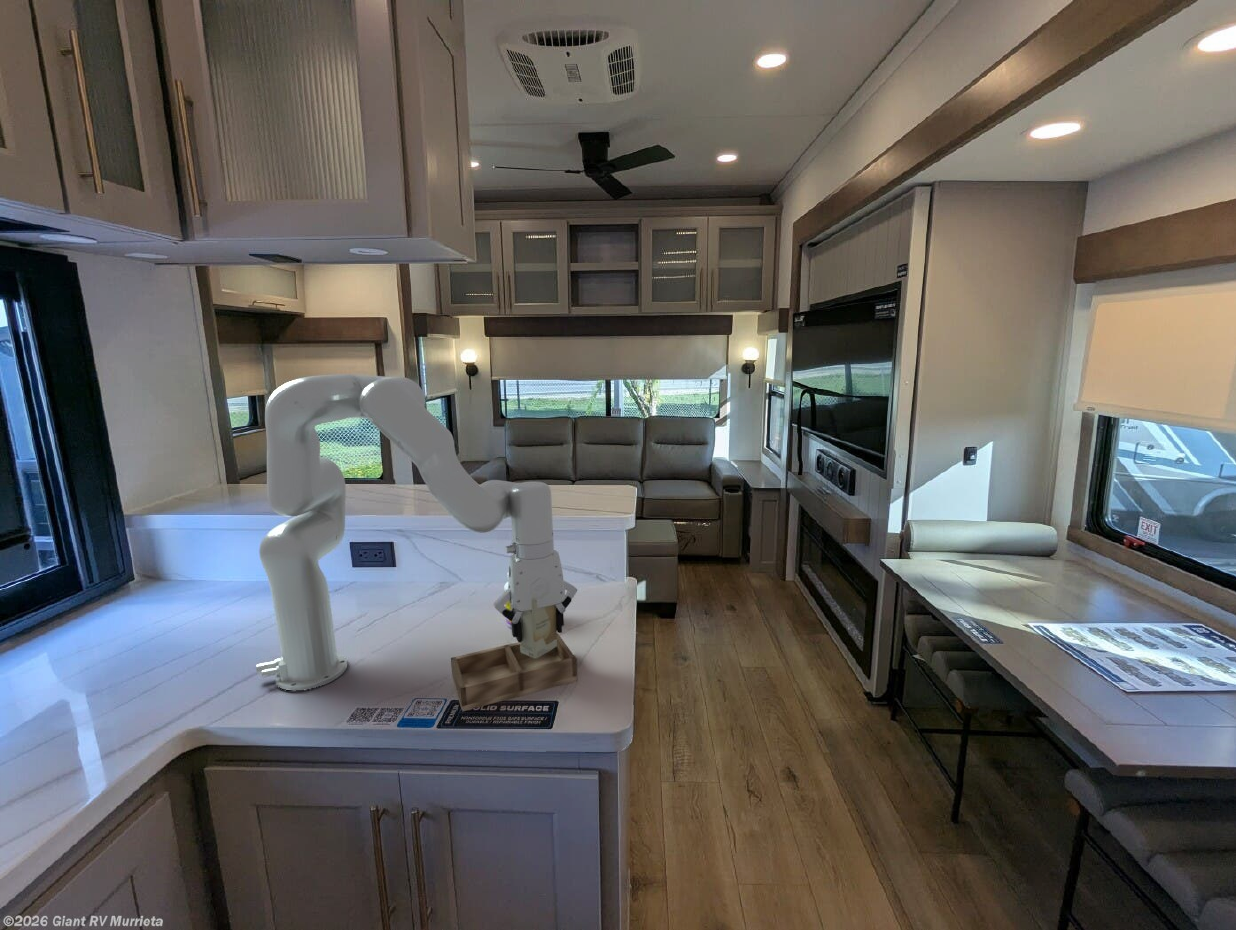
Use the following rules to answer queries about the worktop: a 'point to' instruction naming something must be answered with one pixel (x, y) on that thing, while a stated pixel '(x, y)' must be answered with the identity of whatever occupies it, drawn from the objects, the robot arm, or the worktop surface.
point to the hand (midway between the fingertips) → (538, 633)
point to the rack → (509, 673)
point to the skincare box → (538, 630)
